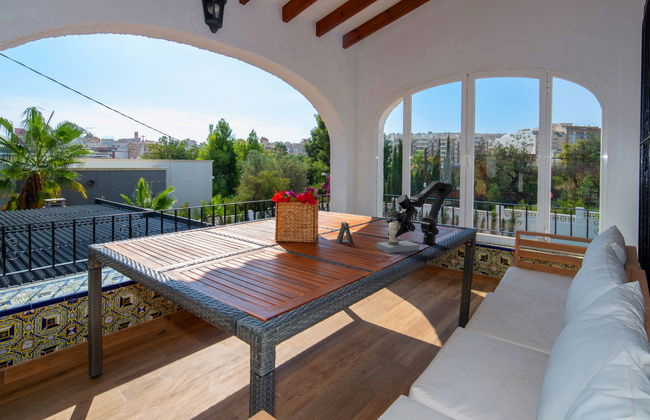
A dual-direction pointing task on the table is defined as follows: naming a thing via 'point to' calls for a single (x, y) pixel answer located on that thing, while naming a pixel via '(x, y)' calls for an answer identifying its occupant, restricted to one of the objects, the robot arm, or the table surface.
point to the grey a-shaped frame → (341, 233)
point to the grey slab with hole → (398, 246)
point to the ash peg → (393, 233)
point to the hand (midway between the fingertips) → (391, 235)
